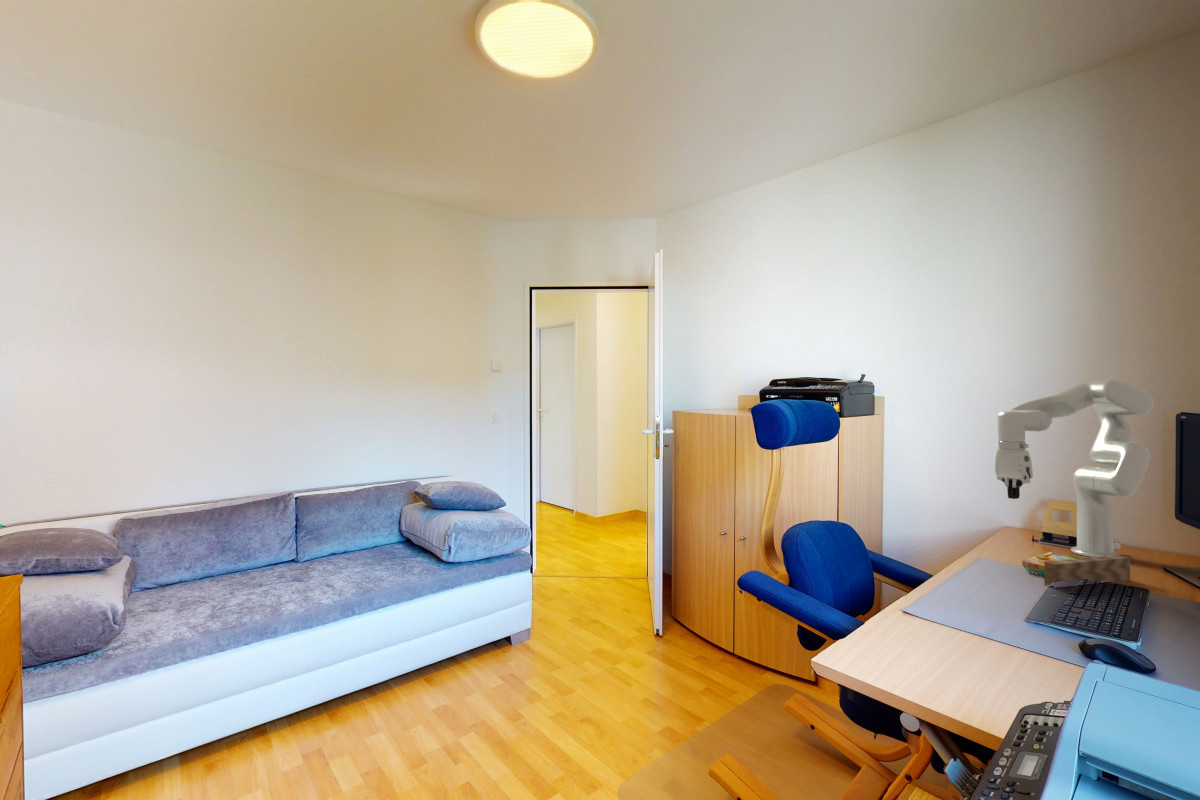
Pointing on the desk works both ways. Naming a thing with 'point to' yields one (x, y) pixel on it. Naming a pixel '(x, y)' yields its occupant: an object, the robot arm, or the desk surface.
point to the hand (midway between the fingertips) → (1013, 498)
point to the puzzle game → (1042, 562)
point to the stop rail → (1088, 569)
